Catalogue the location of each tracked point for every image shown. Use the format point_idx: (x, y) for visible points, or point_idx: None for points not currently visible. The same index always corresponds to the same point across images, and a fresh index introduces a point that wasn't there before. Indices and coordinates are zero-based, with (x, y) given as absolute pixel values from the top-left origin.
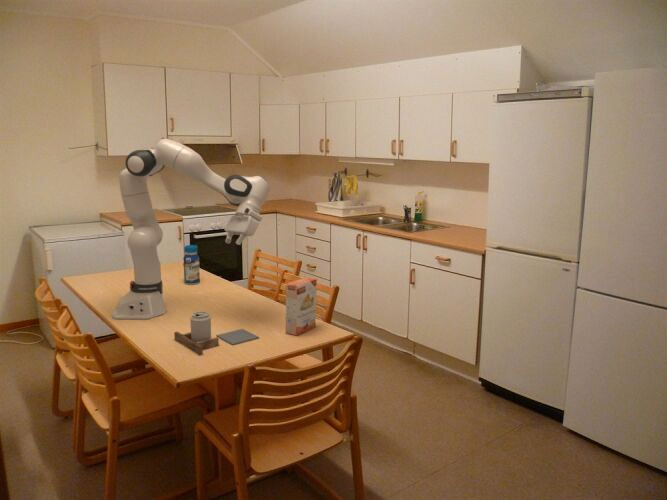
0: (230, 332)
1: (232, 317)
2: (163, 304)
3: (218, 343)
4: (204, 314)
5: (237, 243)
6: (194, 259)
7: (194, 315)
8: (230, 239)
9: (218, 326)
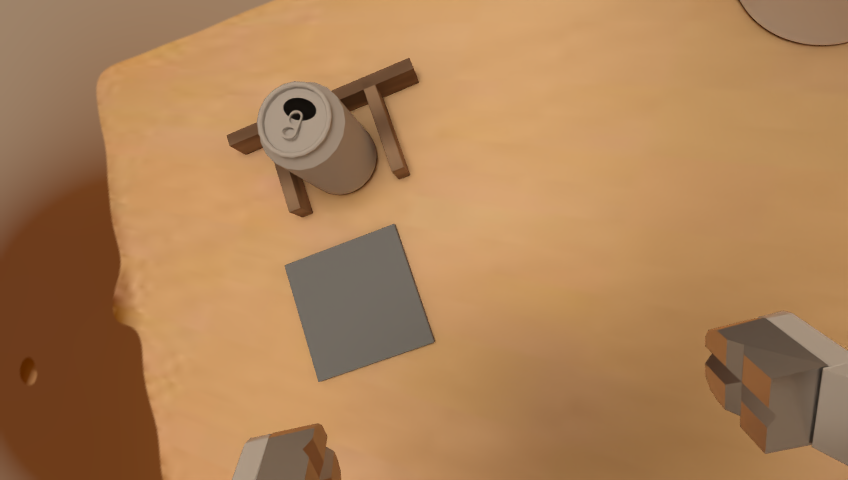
0: (404, 283)
1: (627, 340)
2: (828, 10)
3: (298, 215)
4: (297, 139)
5: (253, 448)
6: None
7: (300, 94)
8: (824, 443)
9: (515, 253)
